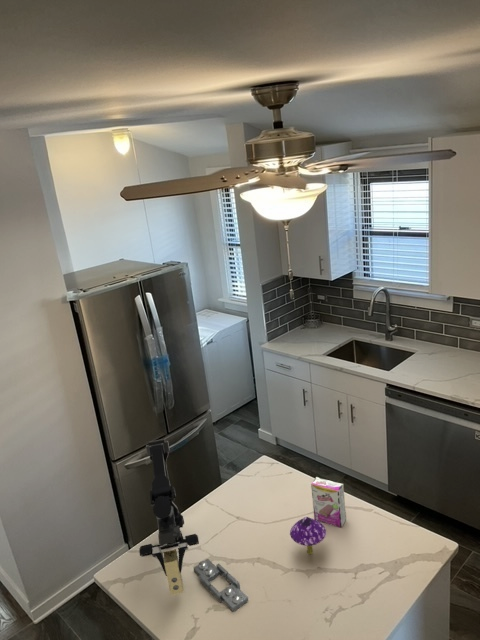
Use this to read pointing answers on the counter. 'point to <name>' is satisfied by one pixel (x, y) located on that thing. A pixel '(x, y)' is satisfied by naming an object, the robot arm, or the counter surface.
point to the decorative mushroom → (308, 533)
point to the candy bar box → (328, 502)
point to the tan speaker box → (173, 572)
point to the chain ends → (231, 593)
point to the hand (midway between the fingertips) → (173, 574)
